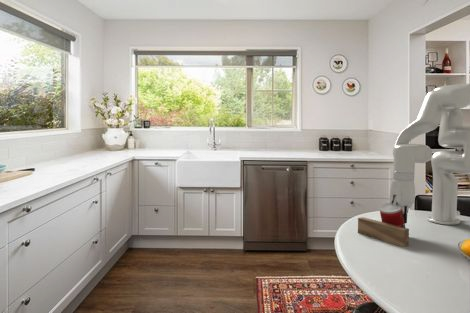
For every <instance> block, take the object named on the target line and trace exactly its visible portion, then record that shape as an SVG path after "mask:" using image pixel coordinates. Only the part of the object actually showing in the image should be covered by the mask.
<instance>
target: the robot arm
mask: <svg viewBox="0 0 470 313" xmlns="http://www.w3.org/2000/svg"><path fill="white" fill-rule="evenodd" d="M468 106H470V83H460V84H459V83H458V84H448V85H441V86H438V87H436V88H434V89H433V90H431V91H429V92H428V93H426V94H425V97H424V99H423V101H422V104H421V106H420V109H419V112H418V114H417V117H416V119H415V120H414V121H413V122H412V123H410V124H408V125H407V126H406V127H405V128H404V129H403V130H402V131H401V132H400V133H399V135H398V136H397V137H396V138H397V139H396V140H395V143H394V146H393V149H392V155H393V166H392V167H393V169H392V171H393V172H392V181H391V184H390V189H389V199H388V200H389V202H388V203H393V205H397V204H398V205H401V206H402V210H403V216H404V222H405V224H407V223H408V213H409V209H410V208H412V207H413V205H414V203H415V201H416V200H415V198H416V197H415V196H416V194H415V193H416V191H415V190H416V188H415V187H416V186H415V169H416V167H415V166H416V165H415V164H425V163H428V162H429V161H430V160H431V168H432V169H431V170H432V196H431V197H432V198H431V199H432V201H431V202H432V203H431V215H429V216H427V220H428V221H429V222H432V223H435V224H441V225H447V226H449V225H450V226H452V225H460V224H461V220H460V218H457V216H460V215H461V212H460V210H457V208H458V207H457V206H458V205H457V204H458V186H459V185H458V179H457V178H456V176H455V175H454V174H458V175H459V174H460V175H470V126H469V125H465V126H463V122H464V113H463V112H462V109H464V108H466V107H468ZM438 127H439V131H438V137H437V138H438V139H437V141H438V145H439V146H441V147H443V148H449V149H463V151H458V150H457V151H456V150H439V151H436V152H434V153H433V151H432V148H431V147H430V146H429V145H426V144H424V143H423V144H422V143H420V144H419V143H418V144H417V143H411V142H412V140H414V139H415V138H417V137H419V136H422V135H425V134H426V133H429V132H431V131H434V130H436V129H437V128H438Z"/></svg>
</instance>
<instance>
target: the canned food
mask: <svg viewBox="0 0 470 313" xmlns="http://www.w3.org/2000/svg"><path fill="white" fill-rule="evenodd" d="M379 213H380V218H381V220H380V221H381V222H384V223H388V224H392V225H396V226H400V227H403V228H406V223H405V222H404V216H403V210H402V206H401V205H398V204H397V205H393V203H389V202H388V203H384V204H382V205H380V206H379Z"/></svg>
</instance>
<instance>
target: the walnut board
mask: <svg viewBox="0 0 470 313" xmlns="http://www.w3.org/2000/svg"><path fill="white" fill-rule="evenodd" d="M357 233H358V234H361V235H362V236H363V235H364V236H367V237H370V238H374V239H377V240H380V241H383V242H386V243H389V244H393V245H396V246H400V247H404V246H405V247H408V246H409V241H410V240H409V239H410V237H409V236H410V229H409V228H406V227H405V228H403V227H400V226H396V225H392V224H388V223H384V222H382V221H381V220H376V219H372V218H368V217H364V216H363V217H362V216H361V217H358V218H357Z"/></svg>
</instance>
